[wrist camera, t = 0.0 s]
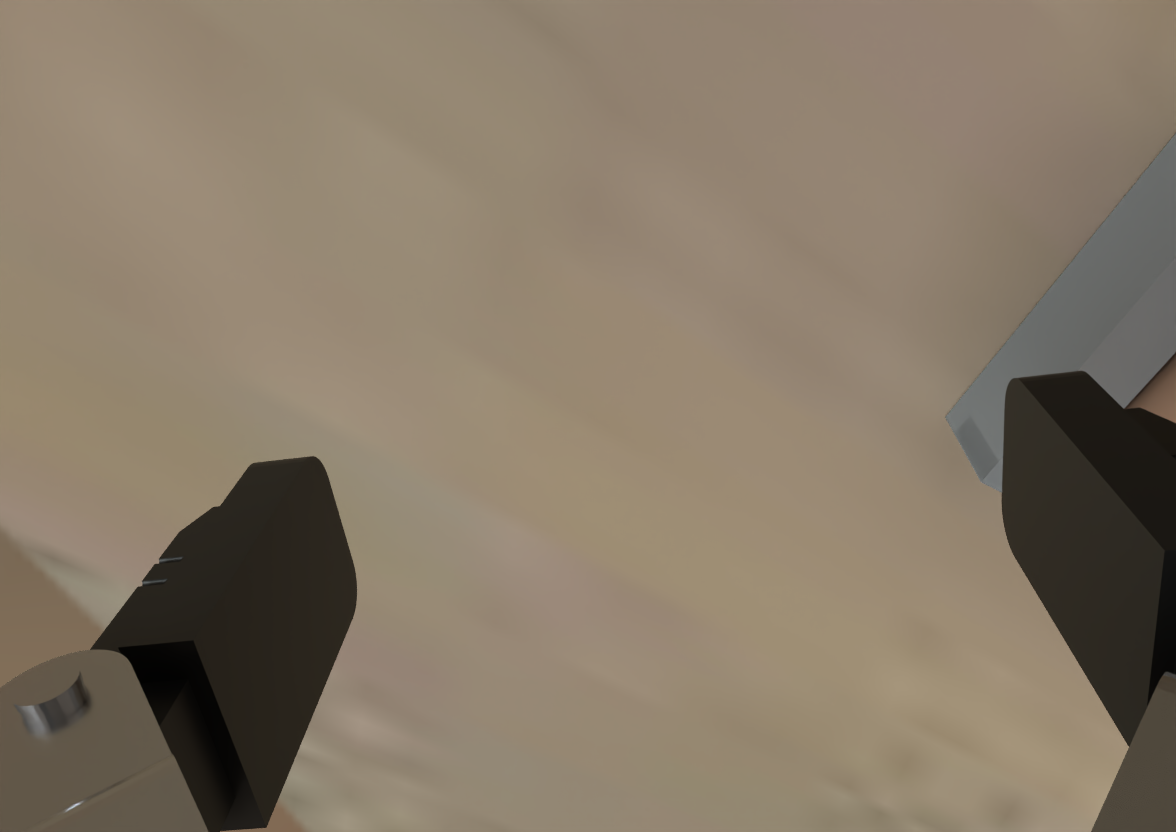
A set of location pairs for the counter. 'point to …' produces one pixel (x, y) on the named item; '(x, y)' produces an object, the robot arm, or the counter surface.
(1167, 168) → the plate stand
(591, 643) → the counter surface
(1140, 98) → the counter surface
